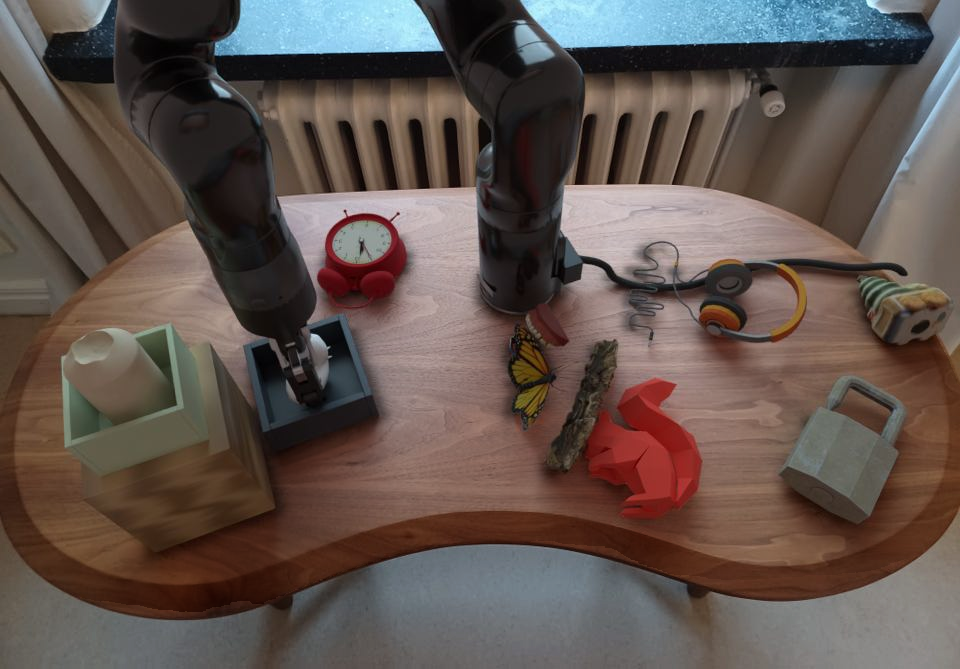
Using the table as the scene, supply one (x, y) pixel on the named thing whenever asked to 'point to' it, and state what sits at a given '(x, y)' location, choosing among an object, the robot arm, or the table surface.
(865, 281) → the ornament
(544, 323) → the dentures model
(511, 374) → the butterfly
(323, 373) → the toy creature
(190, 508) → the stand
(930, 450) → the table surface
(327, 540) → the table surface
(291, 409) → the dark bin
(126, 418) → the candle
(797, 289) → the headphones
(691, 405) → the table surface
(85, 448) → the pale bin
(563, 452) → the bark log
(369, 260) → the alarm clock
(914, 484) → the table surface
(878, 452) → the padlock
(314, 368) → the robot arm
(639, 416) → the animal figurine
